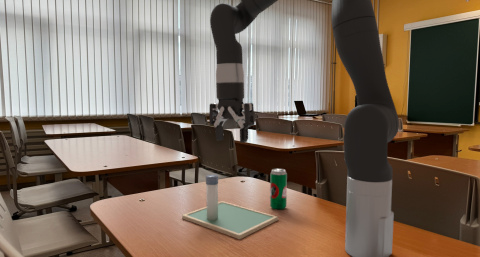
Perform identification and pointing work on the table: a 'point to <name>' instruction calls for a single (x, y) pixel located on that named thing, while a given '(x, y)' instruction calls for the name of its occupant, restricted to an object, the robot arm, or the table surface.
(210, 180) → the marker
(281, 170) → the soda can
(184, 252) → the table surface
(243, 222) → the slate
